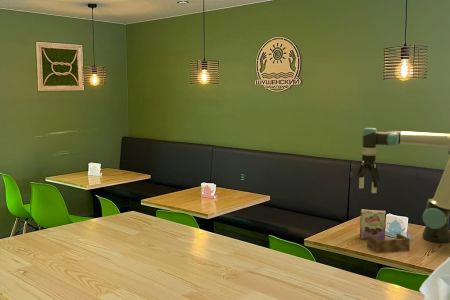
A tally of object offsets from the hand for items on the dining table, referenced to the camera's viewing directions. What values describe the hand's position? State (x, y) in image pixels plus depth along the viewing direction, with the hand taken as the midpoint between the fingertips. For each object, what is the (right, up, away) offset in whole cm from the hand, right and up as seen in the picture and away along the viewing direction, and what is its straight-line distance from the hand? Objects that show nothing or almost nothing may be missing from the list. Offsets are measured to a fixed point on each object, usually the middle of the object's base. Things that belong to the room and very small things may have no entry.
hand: (367, 190), depth 267 cm
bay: (+5, -29, -19) cm, 35 cm away
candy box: (+2, -28, -3) cm, 28 cm away
